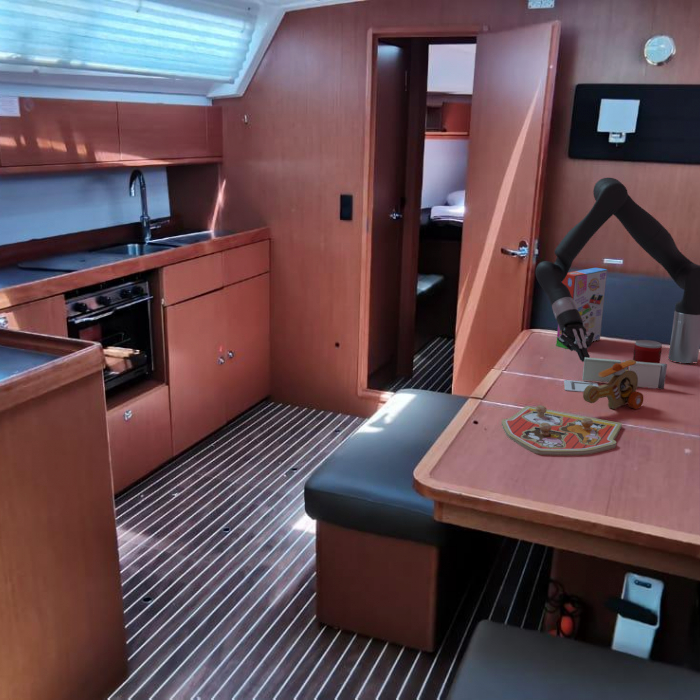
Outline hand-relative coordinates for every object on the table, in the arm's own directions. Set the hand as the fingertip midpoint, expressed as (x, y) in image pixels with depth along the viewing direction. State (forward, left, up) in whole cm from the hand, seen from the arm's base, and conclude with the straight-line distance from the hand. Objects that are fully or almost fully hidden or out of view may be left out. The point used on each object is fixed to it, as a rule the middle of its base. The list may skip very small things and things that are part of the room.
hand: (585, 360), depth 233 cm
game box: (-41, -9, -6) cm, 43 cm away
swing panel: (+4, +5, -5) cm, 8 cm away
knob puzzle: (+54, +2, -6) cm, 54 cm away
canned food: (-10, +17, -6) cm, 21 cm away
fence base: (+1, +17, -5) cm, 18 cm away
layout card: (+11, +1, -5) cm, 12 cm away
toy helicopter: (+27, +12, -6) cm, 30 cm away
